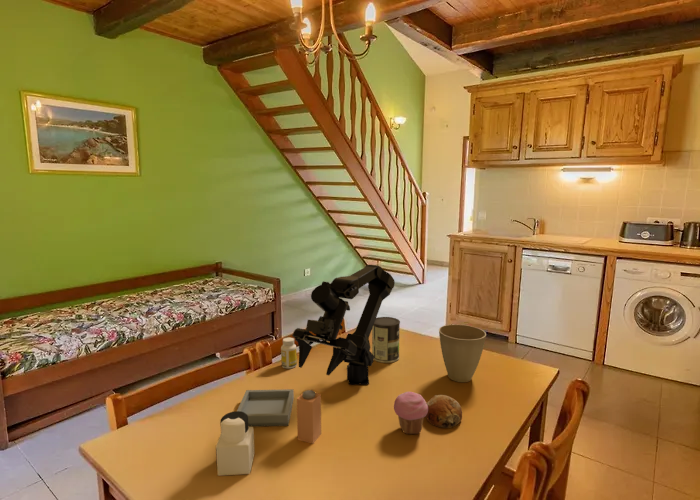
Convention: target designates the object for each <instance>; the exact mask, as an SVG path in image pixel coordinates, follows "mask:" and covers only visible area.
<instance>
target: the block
mask: <svg viewBox="0 0 700 500" xmlns="http://www.w3.org/2000/svg"><path fill="white" fill-rule="evenodd" d="M321 397H322V393H318V392H315V391H314V390H313V389H311V390H310V389H308V390H305V391H303V392H302V393H301V394H300V395H299V396H298V397H297V398H296V418H297V421H296V422H297V424H296V425H297V440H298V441H301V442H306V443H308V444H309V443H310V444H313V445H314V444H315V442H317V440H318V439H319V437H320V436H321V435H322V398H321Z"/></svg>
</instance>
